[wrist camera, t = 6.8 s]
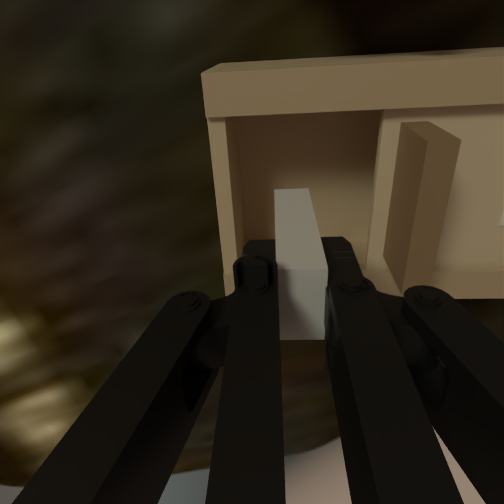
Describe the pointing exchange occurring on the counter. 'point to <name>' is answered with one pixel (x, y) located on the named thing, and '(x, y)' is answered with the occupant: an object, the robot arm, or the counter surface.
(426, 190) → the lid
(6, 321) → the counter surface
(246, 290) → the robot arm
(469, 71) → the box
